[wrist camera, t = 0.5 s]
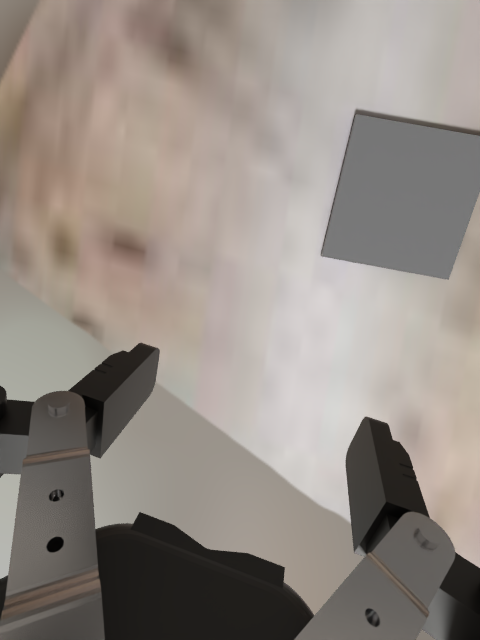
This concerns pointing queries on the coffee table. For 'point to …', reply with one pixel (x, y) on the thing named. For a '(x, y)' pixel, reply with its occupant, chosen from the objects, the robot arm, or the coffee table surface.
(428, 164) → the mat
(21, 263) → the coffee table surface
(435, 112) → the coffee table surface
